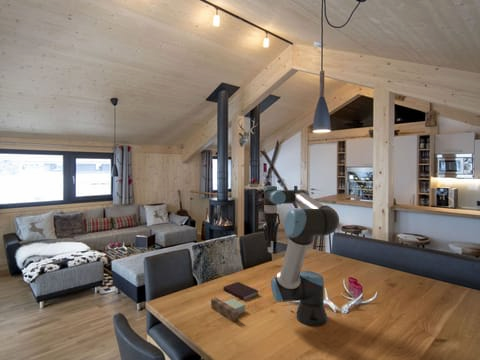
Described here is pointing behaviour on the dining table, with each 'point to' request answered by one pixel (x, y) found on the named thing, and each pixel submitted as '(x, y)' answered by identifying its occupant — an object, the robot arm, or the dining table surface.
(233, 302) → the block
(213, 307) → the board
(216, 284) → the dining table surface
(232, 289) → the book
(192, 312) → the dining table surface
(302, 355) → the dining table surface
